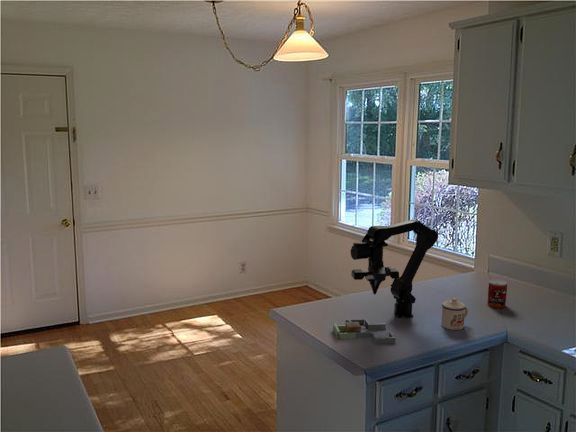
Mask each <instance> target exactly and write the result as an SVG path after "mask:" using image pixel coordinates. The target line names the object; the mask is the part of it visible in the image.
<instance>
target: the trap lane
mask: <svg viewBox="0 0 576 432" xmlns="http://www.w3.org/2000/svg"><path fill="white" fill-rule="evenodd" d="M346 322H358V323H359V324H360V326H361V330H369V331H361V332H353V333H346V332H343V331H345V324H339V325H338V324H337V323H336V322H333V323H332V324H333V325H332V327H333V328H332V330H333V333H334V335H335V337H336V339H337V340H344V339H368V338H371V339H372V341H373V342H374V343H375V344H376V345H377V344H379V345H380V344H396V336H395V335H394V334H393V332H392V331H389V332H388V335H387V336H386V335H385V336H377V335H376V334H375V333H374V331H370V329H371V330H385V329H386V328H387V327H386V325H387V324H386V323H384V322H383V323H382V322H381V323H370V322H369V320H368V319H365V318H350V319H349V318H347V319H346V318H345V323H346Z"/></svg>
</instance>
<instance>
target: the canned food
mask: <svg viewBox="0 0 576 432" xmlns="http://www.w3.org/2000/svg"><path fill="white" fill-rule="evenodd" d="M487 287H488V290H487V305H488V307H490V308H494V309H504V308H505V307H506V304H507V291H508V282H507V281H506V280H502V279H489V281H488V286H487Z"/></svg>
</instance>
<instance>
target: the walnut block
mask: <svg viewBox="0 0 576 432" xmlns="http://www.w3.org/2000/svg"><path fill="white" fill-rule="evenodd" d="M344 325H345V332H344V333H353V332H362V329H361V326H360V324H359V323H358V322H346V321H345V324H344Z"/></svg>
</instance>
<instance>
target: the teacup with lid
mask: <svg viewBox="0 0 576 432" xmlns="http://www.w3.org/2000/svg"><path fill="white" fill-rule="evenodd" d="M441 306H442V307H441V309H442V310H441V326H442V327H443V328H445V329H447V330H451V331H459V330H462V329H464V327H465V319H466V317H467V316H468V314H469V309H468V307H466V304H464V303H463V302H461V301H459V300H457V298H456V297H451V299H449V300H446V301H443V302H442V304H441Z"/></svg>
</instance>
